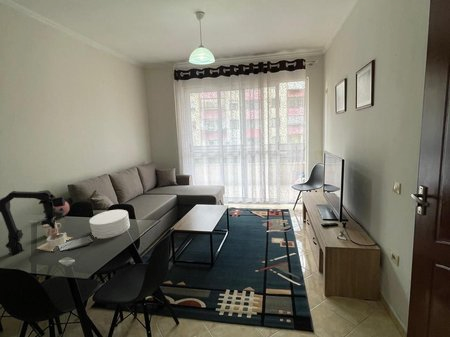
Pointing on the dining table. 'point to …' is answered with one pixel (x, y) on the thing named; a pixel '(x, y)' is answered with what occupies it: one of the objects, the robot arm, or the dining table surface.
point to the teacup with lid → (50, 229)
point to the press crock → (54, 242)
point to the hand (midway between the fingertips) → (53, 228)
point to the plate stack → (109, 223)
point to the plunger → (55, 235)
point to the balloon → (65, 208)
